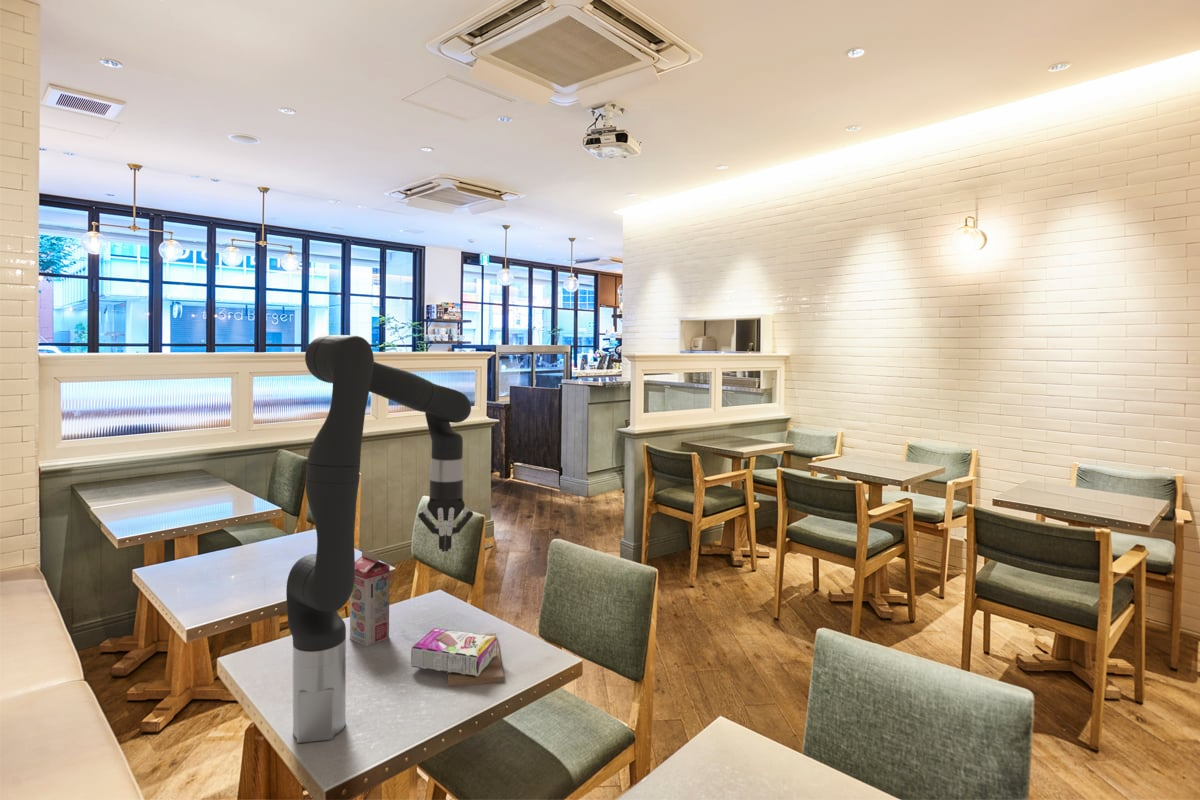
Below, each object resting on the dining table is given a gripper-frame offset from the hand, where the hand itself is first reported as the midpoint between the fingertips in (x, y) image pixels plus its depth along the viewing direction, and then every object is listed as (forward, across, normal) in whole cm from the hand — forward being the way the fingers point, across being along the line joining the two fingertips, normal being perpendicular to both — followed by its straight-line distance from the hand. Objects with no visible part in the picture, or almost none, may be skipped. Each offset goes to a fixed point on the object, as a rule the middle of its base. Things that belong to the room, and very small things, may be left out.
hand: (445, 550), depth 149 cm
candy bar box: (+22, -5, 0) cm, 23 cm away
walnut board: (+26, +7, -2) cm, 27 cm away
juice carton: (+26, -18, +14) cm, 35 cm away
